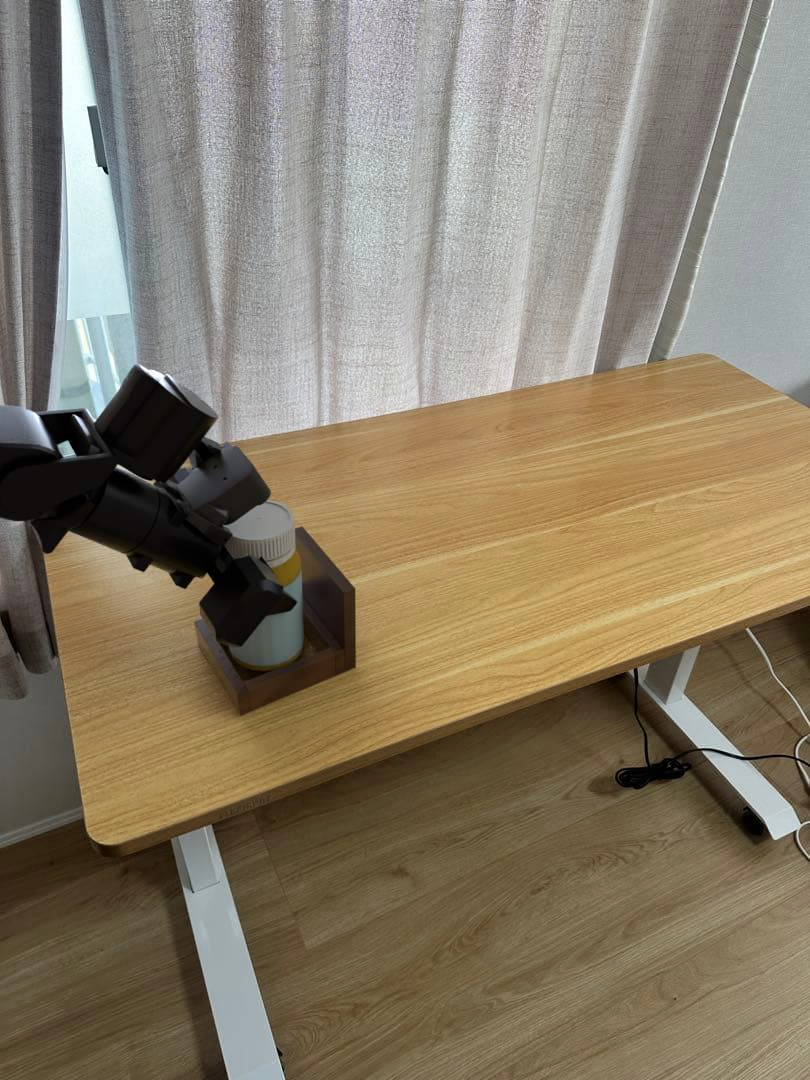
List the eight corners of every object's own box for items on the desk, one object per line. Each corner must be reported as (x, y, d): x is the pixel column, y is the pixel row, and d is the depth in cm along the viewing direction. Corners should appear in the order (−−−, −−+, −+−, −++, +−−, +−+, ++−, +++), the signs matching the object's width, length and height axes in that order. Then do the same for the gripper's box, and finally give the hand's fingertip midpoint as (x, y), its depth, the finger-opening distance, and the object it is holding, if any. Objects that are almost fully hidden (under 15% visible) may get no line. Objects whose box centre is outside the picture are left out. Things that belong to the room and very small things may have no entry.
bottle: (310, 628, 79) (306, 500, 70) (295, 679, 73) (289, 547, 65) (241, 621, 79) (228, 492, 71) (220, 671, 74) (204, 539, 65)
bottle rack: (240, 716, 72) (228, 635, 66) (197, 643, 79) (183, 563, 73) (356, 667, 77) (355, 588, 71) (306, 602, 84) (302, 525, 78)
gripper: (248, 496, 54) (385, 572, 66) (158, 383, 66) (286, 464, 78) (150, 622, 55) (301, 674, 67) (79, 488, 68) (217, 552, 79)
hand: (276, 582), depth 73 cm, fingers closed on bottle, 7 cm apart
